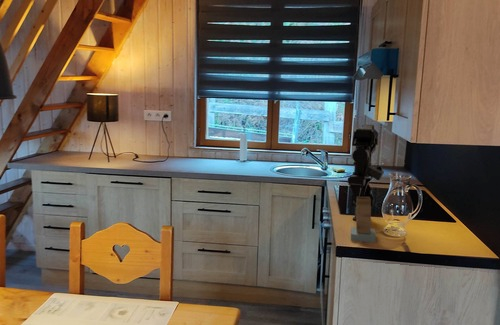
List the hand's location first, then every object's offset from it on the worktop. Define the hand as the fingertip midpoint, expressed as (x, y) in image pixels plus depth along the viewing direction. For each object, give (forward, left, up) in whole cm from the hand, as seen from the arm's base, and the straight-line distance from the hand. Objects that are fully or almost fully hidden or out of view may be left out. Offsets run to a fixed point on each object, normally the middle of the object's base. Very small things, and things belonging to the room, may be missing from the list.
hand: (359, 197), depth 182 cm
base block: (+10, +4, -14) cm, 18 cm away
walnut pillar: (+11, +4, -10) cm, 16 cm away
